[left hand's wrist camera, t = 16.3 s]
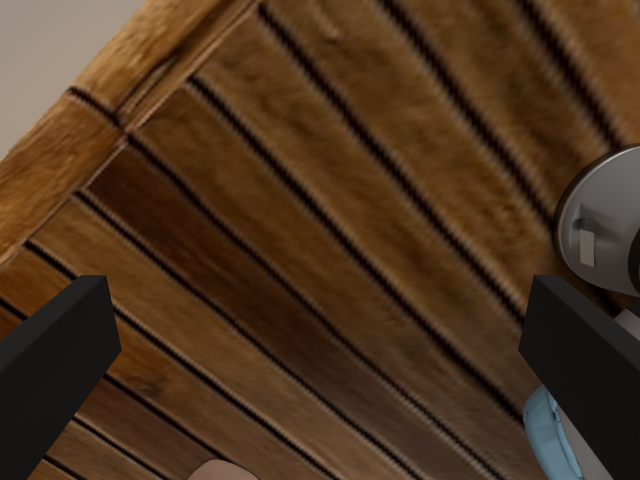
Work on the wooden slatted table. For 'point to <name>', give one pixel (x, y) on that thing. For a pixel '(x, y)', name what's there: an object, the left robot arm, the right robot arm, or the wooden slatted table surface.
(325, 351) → the wooden slatted table surface
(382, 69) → the wooden slatted table surface
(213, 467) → the anatomical model
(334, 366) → the wooden slatted table surface
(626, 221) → the left robot arm
